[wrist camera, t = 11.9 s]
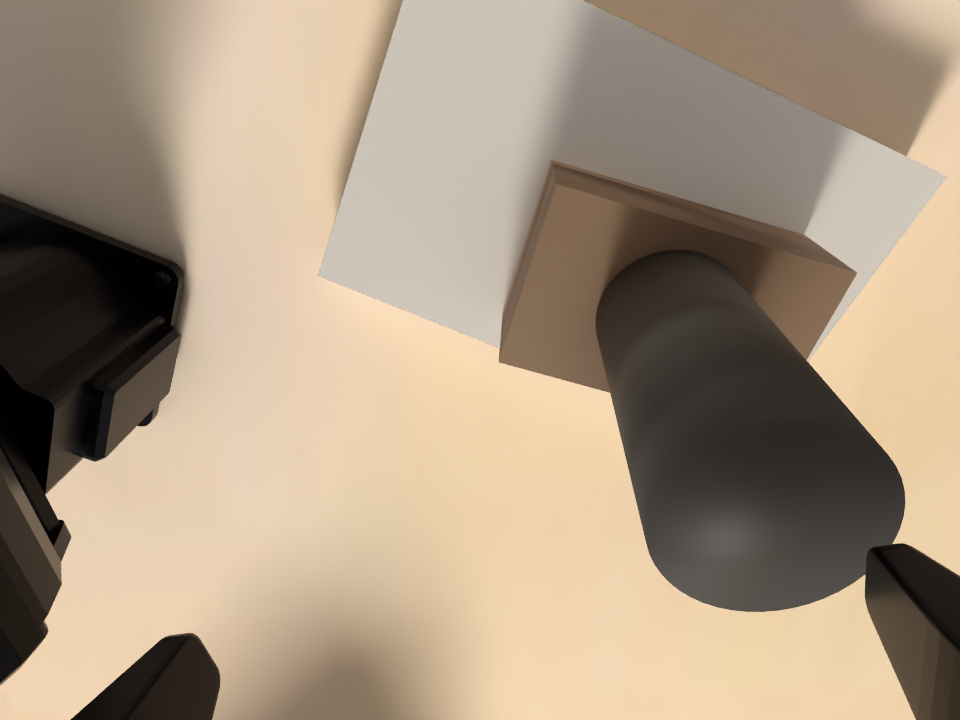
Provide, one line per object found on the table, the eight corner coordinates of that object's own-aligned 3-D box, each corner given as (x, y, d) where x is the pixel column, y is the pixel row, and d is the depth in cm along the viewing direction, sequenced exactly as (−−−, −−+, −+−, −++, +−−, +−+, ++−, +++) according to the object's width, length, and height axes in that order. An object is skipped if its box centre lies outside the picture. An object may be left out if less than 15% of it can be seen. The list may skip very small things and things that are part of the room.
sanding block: (502, 314, 18) (482, 577, 10) (551, 159, 16) (583, 308, 7) (729, 377, 19) (912, 683, 10) (805, 234, 17) (1118, 460, 8)
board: (335, 253, 20) (317, 276, 18) (436, -64, 16) (426, -76, 14) (726, 412, 22) (744, 446, 20) (904, 161, 18) (947, 176, 16)
